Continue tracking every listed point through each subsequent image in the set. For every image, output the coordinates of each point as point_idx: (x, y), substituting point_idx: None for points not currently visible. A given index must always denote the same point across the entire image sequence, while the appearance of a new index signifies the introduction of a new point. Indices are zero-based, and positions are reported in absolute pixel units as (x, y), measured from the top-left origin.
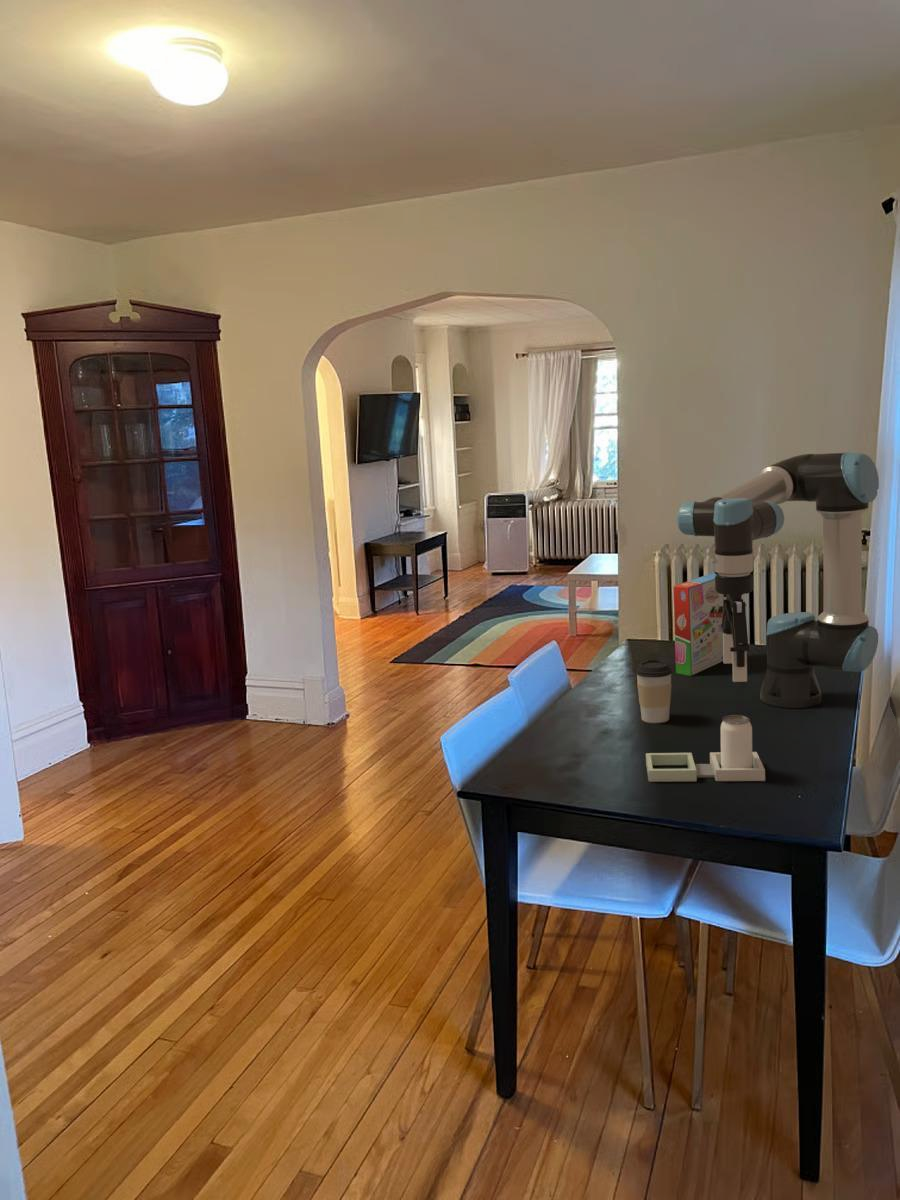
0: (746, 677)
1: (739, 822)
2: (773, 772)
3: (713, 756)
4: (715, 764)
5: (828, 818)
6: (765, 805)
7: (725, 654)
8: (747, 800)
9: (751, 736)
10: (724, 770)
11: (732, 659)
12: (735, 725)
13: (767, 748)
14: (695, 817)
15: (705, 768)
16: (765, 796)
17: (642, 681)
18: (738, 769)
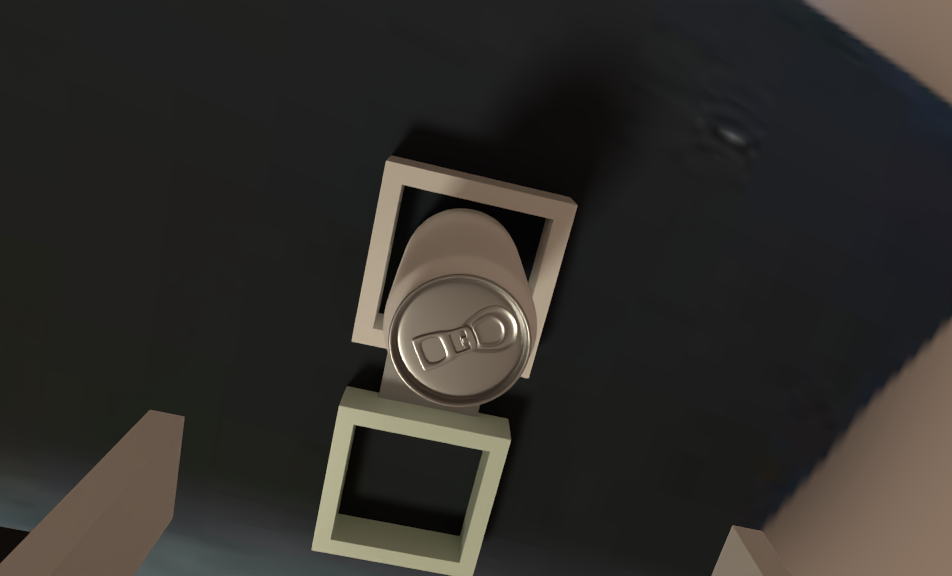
0: (778, 560)
1: (837, 397)
2: (502, 132)
3: None
4: None
5: (927, 120)
6: (758, 278)
7: (130, 569)
8: (702, 318)
9: (508, 259)
10: (536, 349)
11: (162, 473)
12: (521, 365)
13: (244, 43)
14: (758, 499)
15: None
16: (693, 249)
17: None
18: (545, 299)
